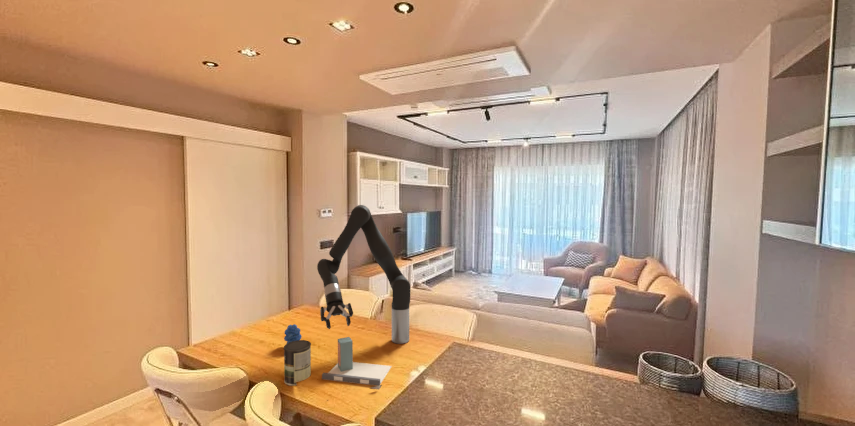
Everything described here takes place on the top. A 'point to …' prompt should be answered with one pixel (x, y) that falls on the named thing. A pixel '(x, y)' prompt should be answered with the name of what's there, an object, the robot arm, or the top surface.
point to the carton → (345, 354)
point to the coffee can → (297, 361)
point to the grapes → (292, 333)
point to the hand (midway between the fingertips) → (339, 326)
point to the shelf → (359, 374)
